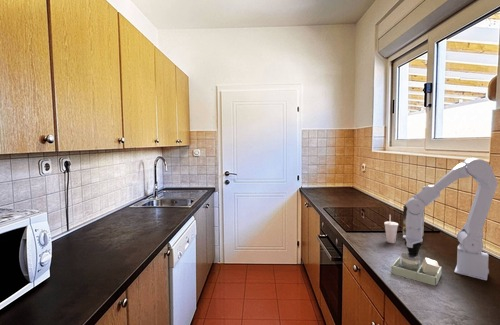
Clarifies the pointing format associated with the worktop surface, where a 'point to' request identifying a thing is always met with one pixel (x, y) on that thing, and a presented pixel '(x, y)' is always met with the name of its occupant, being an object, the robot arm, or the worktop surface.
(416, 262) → the tin
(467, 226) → the robot arm
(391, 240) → the smoothie
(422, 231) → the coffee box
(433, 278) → the caddy
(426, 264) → the cube
